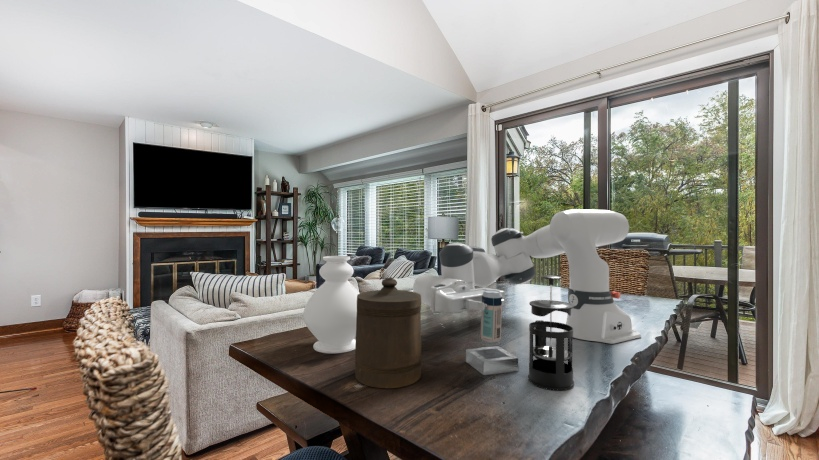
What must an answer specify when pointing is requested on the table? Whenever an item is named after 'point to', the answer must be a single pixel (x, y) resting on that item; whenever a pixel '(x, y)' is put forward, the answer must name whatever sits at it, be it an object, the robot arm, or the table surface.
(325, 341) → the decorative vase
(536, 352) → the french press
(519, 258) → the robot arm
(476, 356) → the light grey square box
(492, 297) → the supplement bottle
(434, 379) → the table surface
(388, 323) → the wooden container
